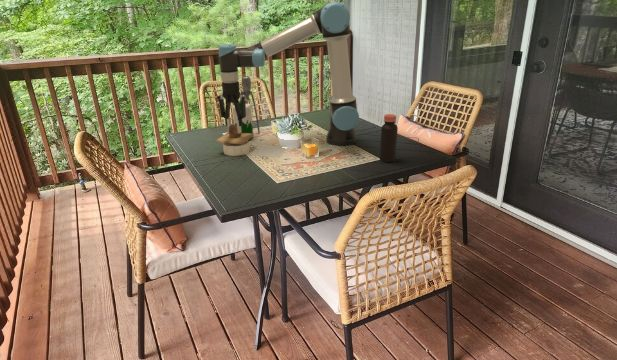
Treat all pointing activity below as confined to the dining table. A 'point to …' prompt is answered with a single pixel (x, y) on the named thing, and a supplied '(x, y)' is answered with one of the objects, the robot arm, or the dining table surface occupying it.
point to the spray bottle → (246, 88)
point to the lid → (234, 136)
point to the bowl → (236, 148)
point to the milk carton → (245, 120)
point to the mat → (268, 151)
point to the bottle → (388, 139)
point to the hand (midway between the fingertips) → (234, 132)
